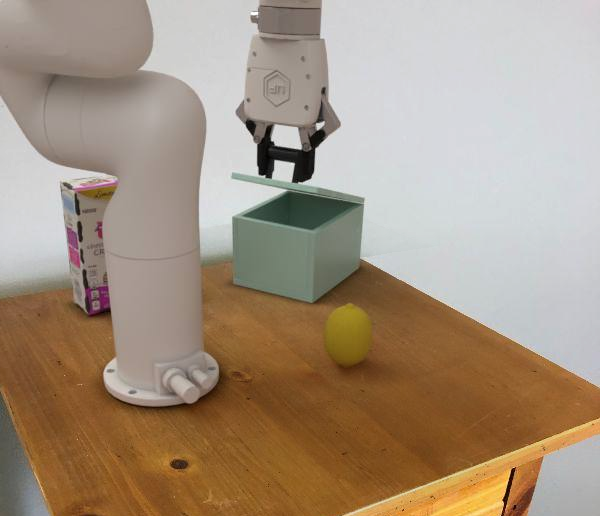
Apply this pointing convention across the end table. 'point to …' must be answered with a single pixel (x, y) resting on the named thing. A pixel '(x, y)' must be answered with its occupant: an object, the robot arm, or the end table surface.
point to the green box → (297, 244)
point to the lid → (291, 156)
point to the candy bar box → (87, 239)
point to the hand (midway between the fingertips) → (285, 175)
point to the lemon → (348, 335)
